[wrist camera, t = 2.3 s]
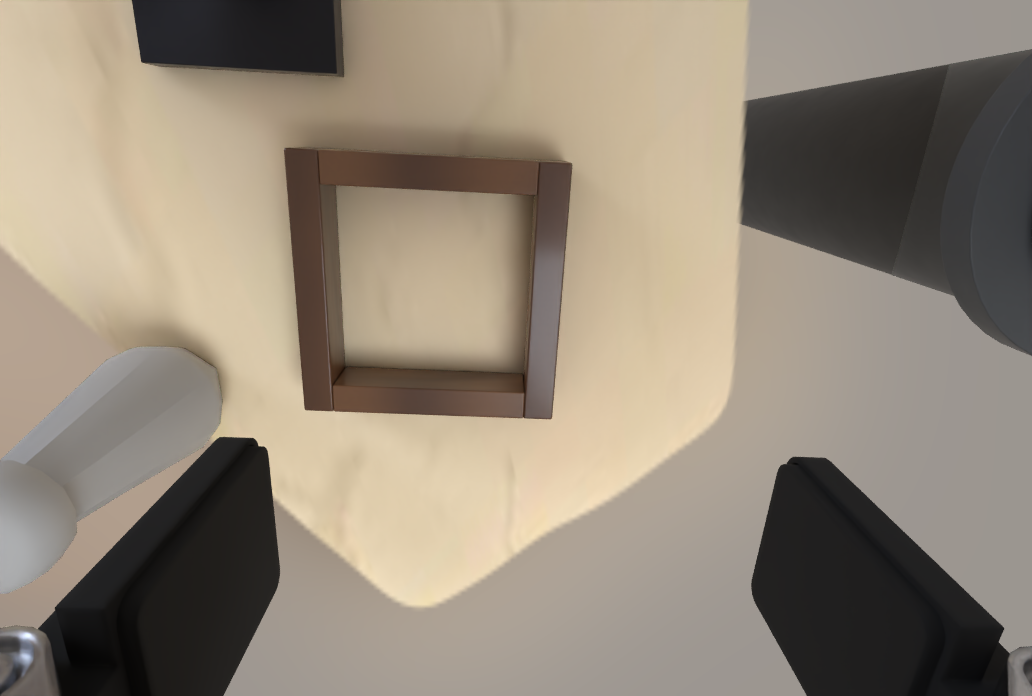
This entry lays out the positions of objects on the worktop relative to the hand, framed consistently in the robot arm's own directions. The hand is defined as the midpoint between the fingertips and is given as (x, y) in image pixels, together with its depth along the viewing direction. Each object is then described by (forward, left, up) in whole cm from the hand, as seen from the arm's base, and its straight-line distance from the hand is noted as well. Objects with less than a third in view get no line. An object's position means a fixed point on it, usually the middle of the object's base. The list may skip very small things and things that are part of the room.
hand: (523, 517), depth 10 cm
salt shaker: (+17, +6, -19) cm, 26 cm away
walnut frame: (+4, 0, -19) cm, 19 cm away
